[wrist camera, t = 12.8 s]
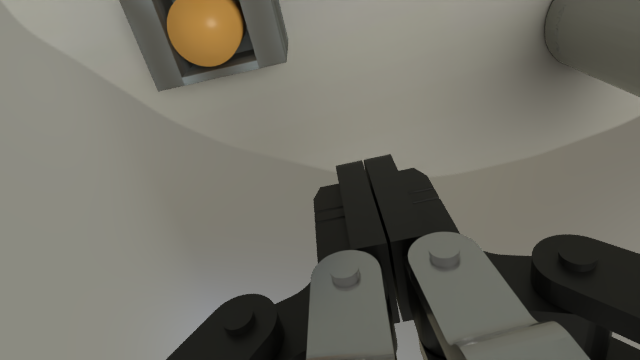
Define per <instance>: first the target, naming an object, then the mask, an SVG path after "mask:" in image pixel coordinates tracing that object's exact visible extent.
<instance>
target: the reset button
mask: <svg viewBox="0 0 640 360" xmlns="http://www.w3.org/2000/svg"><path fill="white" fill-rule="evenodd" d="M246 27H247V25H246V21H245V18H244V14H243V11H242V7H241V4H240V2H239V0H176V1H175V2H174V3H173V5H172V6H171V8H170V10H169V13H168V17H167V31H168V35H169V38H170V40H171V43H172V44H173V46H174V48H175V49H176V50H177V52H178V53H179V54H180V55H181V56H182V57H184V58H185V59H186V60H188V61H190V62H191V63H194V64H196V65H200V66H206V67H211V66H217V65H220V64H222V63H224V62H226V61H227V60H229V59H230V58H231V57H232V56H233V55H234V53H235V51H236V50H237V48H238V46H239V45H240V43H241V41H242V40H243V38H244V35H245V32H246Z"/></svg>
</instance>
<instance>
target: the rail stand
mask: <svg viewBox="0 0 640 360" xmlns="http://www.w3.org/2000/svg"><path fill="white" fill-rule="evenodd" d="M119 1H120V3H121V5H122V8H123V10H124V12H125V15H126V17H127V19H128V22H129V24H130V26H131V29H132V31H133V33H134V36H135V38H136V40H137V43H138V45H139V47H140V50H141V52H142V54H143V57H144V59H145V61H146V64H147V66H148V69H149V71H150V73H151V76H152V78H153V80H154V83H155V85H156V87H157V90H158V91H163V90H167V89H171V88H176V87H180V86H185V85H189V84H193V83H198V82H202V81H206V80H211V79H215V78H219V77H224V76H228V75H233V74H237V73H241V72H246V71H250V70H254V69H259V68H263V67H268V66H272V65H276V64H281V63H285V62H286V61H287V50H288V37H287V33H286V29H285V25H284V21H283V17H282V13H281V9H280V5H279V0H239V2H240V4H241V7H242V11H243V14H244V18H245V21H246V25H247V27H246V32H245V35H244V38H243V40H242V41H241V43H240V45H239V46H238V48H237V50H236V51H235V53H234V55H233V56H232V57H231V58H230V59H229V60H227V61H226V62H224V63H222V64H220V65H217V66H211V67H206V66H200V65H196V64H194V63H191V62H190V61H188V60H186V59H185V58H184V57H182V56H181V55H180V54H179V53H178V52H177V50H176V49H175V48H174V46H173V44H172V43H171V40H170V38H169V35H168V31H167V17H168V13H169V10H170V8H171V6H172V5H173V3H174V2H175V1H176V0H119Z"/></svg>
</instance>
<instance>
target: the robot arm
mask: <svg viewBox="0 0 640 360" xmlns="http://www.w3.org/2000/svg"><path fill="white" fill-rule="evenodd" d="M545 39H546V43H547V46H548V49H549V50H550V52H551V54H552V55H553V56H554V57H555V58H556V59H557V60H558V61H560V62H562V63H564V64H566V65H568V66H570V67H572V68H575V69H577V70H579V71H582V72H584V73H586V74H588V75H590V76H593V77H595V78H597V79H599V80H602V81H604V82H606V83H609V84H611V85H613V86H615V87H618V88H620V89H622V90H625V91H627V92H629V93H632V94H634V95H636V96H638V97H640V0H554V1H553V2H552V4H551V6H550V9H549V12H548V15H547V18H546V24H545ZM364 166H365V169H364ZM364 166H363V162H362V160H361V161H357V162H352V163H347V164H342V165H338V166H336V170H337V175H338V181H339V184H334V185H330V186H325V187H320V189H319V191H318V193H317V194H316V196H315V198H314V212H315V223H316V224H315V228H316V243H317V257H318V264H317V266H316V267H315V269H314V270H313V272H312V275H311V282H310V283H309V284H308V285H307V286H306V287H305V288H304V289H303V290H301V291H300V292H299V293H297V294H295V295H293V296H292V297H289V298H287V299H285V300H283V301H281V302H279V303H277V304H274V303H273V302H272V301H271V300H270V299H269V298H267V297H265V296H262V295H259V294H246V295H242V296H238V297H235V298H233V299H231V300H229V301H227V302H225V303H224V304H222V305H221V306H220V307H219V308H218V309H217V310H215V311H214V312H213V314H211V315H210V316H209V317H208V318H207V319H206V320H205V321H204V322H203V323H202V324H201V325H200V326H199V327H198V328H197V329H196V330H195V331H194V332H193V333H192V334H191V335H190V336H189V337H188V338H187V339H186V340H185V341H184V342H183V343H182V344H181V345H180V346H179V347H178V348H177V349H176V350H175V351H174V352H173V353H172V354H171V355H170V356H169V357H168V358H167V359H166V360H397V356H396V351H397V338H396V333H395V327H394V323H399V322H400V318H399V312H398V306H399V309H400V313H401V316H402V320H403V322H404V321H409V320H414V323H415V326H416V329H417V332H418V337H419V345H420V351H421V354H422V356H423V359H424V360H640V350H639V349H637V348H635V347H633V346H630V345H628V344H626V343H624V342H622V341H620V340H618V339H615V338H613V337H611V336H612V332H614V333H617V334H619V335H621V336H623V337H626V338H628V339H630V340H632V341H634V342H636V343H638V344H640V254H638V253H635V252H632V251H629V250H626V249H623V248H620V247H617V246H614V245H611V244H608V243H605V242H602V241H599V240H596V239H592V238H589V237H585V236H579V235H556V236H551V237H548V238H545V239H543V240H542V241H540V242H539V243H538V244H537V245H536V246H535V247H534V249H533V251H532V256H512V255H498V254H493V253H488V252H485V251H482V249H481V248H480V247H479V245H478V244H477V243H476V242H475V241H473V240H472V239H471V238H469V237H466V236H464V235H462V234H460V233H459V231H458V229H457V228H456V226H455V224H454V222H453V220H452V219H451V217H450V215H449V213H448V212H447V210H446V208H445V206H444V205H443V203H442V201H441V200H440V199H439V196H438V194H437V193H436V191H435V189H434V188H433V186H432V184H431V182H430V180H429V178H428V177H427V176H426V175H425V174H423V173H421V172H420V171H418V170H416V169H415V168H411V169H406V170H401V171H398V170H397V167H396V165H395V163H394V161H393V159H392V156H391V155H390V154H389V155H385V156H380V157H375V158H370V159H366V160H364ZM396 299H397V300H396ZM397 302H398V306H397Z"/></svg>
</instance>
